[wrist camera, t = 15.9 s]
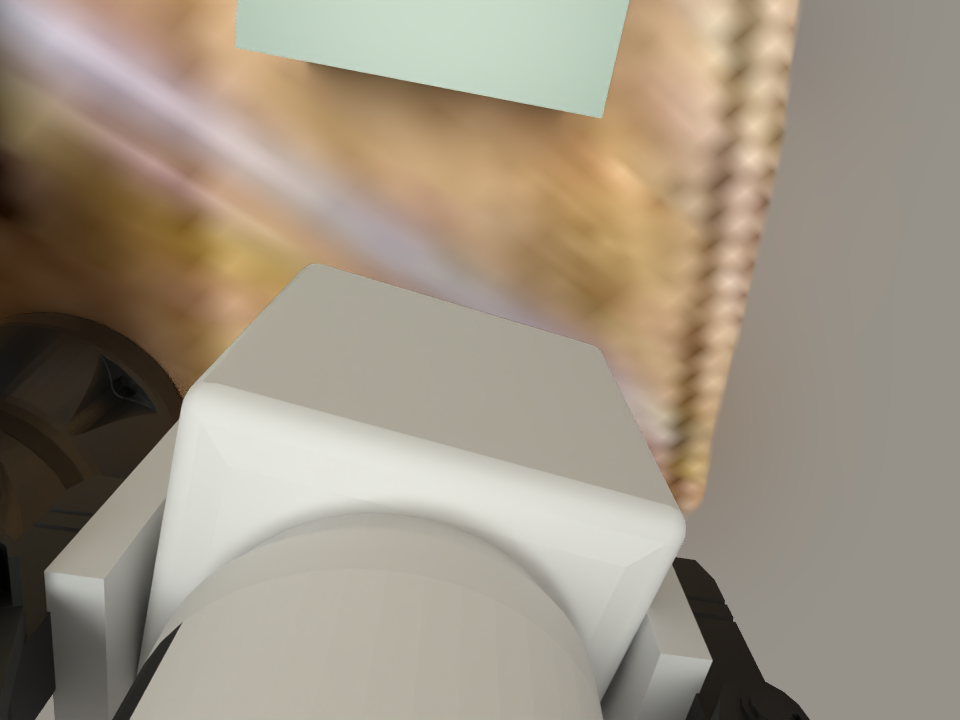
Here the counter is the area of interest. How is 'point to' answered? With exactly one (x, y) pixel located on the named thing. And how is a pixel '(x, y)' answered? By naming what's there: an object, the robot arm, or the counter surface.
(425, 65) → the lid
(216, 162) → the counter surface
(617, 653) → the medicine bottle
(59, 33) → the counter surface
